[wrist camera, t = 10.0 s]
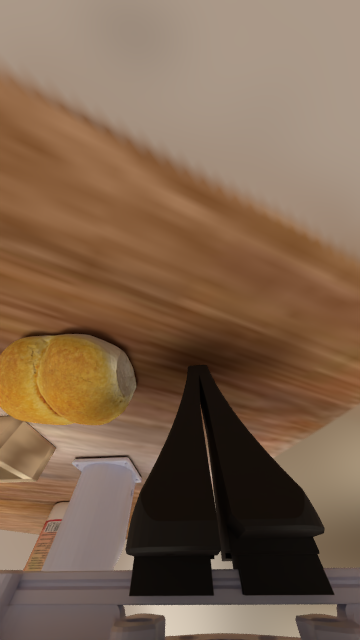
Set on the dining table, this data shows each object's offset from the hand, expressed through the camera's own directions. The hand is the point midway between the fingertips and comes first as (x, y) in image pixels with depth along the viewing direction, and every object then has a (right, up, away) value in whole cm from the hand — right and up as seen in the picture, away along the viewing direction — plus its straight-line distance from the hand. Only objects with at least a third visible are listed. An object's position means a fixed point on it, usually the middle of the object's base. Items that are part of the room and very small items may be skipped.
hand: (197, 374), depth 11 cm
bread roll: (-9, 0, +2) cm, 9 cm away
